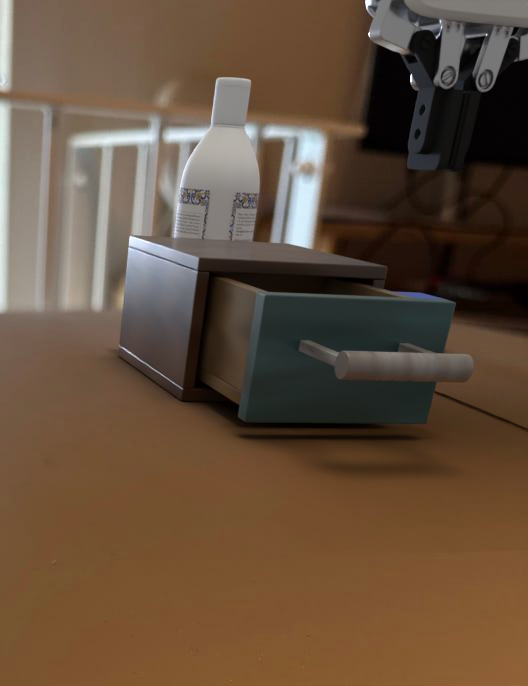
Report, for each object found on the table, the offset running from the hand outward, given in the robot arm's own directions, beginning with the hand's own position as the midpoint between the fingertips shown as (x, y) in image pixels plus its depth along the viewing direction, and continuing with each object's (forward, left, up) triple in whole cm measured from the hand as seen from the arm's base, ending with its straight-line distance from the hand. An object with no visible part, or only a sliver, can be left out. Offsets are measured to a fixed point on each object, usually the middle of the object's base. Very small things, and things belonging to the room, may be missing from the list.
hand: (433, 169), depth 56 cm
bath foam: (+1, -31, -14) cm, 35 cm away
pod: (-15, -23, -14) cm, 31 cm away
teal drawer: (+7, +3, -13) cm, 15 cm away
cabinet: (+7, -9, -14) cm, 18 cm away
